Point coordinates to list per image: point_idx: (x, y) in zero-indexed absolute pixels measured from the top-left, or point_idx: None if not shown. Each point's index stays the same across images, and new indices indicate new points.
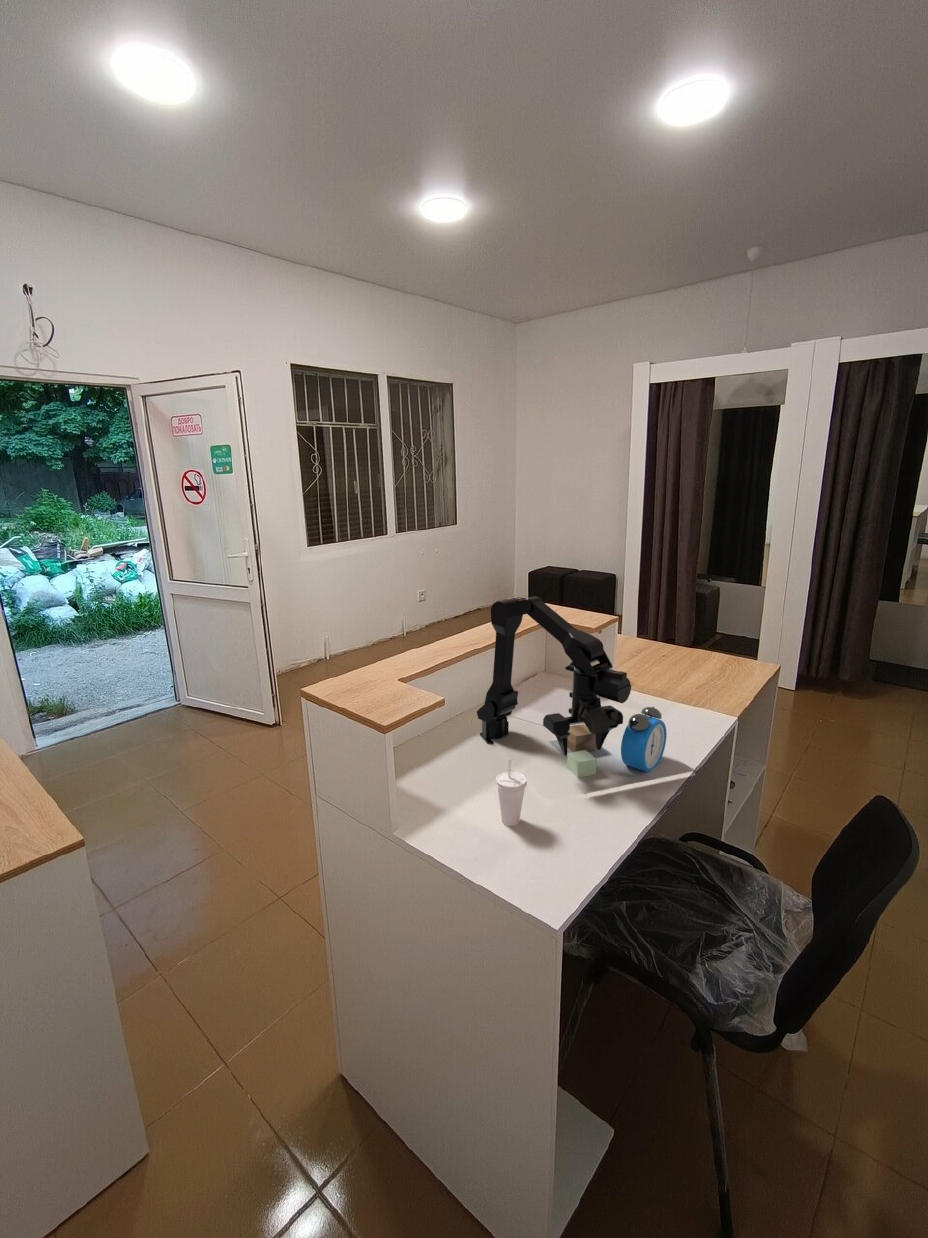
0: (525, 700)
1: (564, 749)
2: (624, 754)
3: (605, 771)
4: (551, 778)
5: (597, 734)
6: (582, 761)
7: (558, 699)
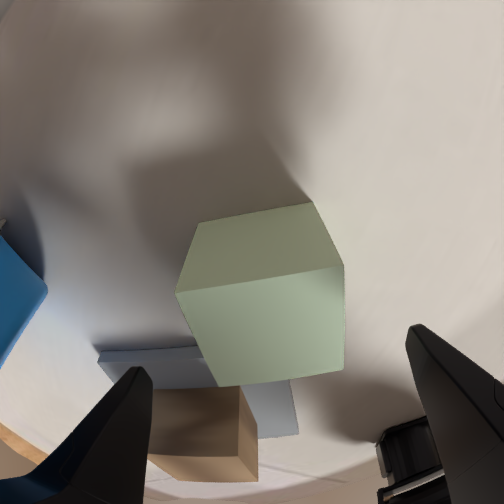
0: (263, 495)
1: (464, 356)
2: (8, 299)
3: (135, 271)
4: (413, 248)
5: (131, 471)
6: (304, 274)
7: (201, 493)
